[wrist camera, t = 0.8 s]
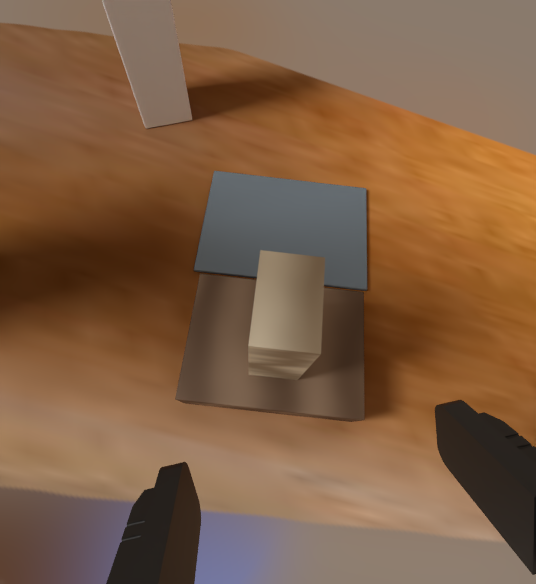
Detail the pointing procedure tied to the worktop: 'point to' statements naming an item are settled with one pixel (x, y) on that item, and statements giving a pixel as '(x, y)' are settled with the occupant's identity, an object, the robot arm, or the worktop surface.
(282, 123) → the worktop surface
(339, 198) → the rubber mat
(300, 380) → the plate
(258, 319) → the birch block
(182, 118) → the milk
